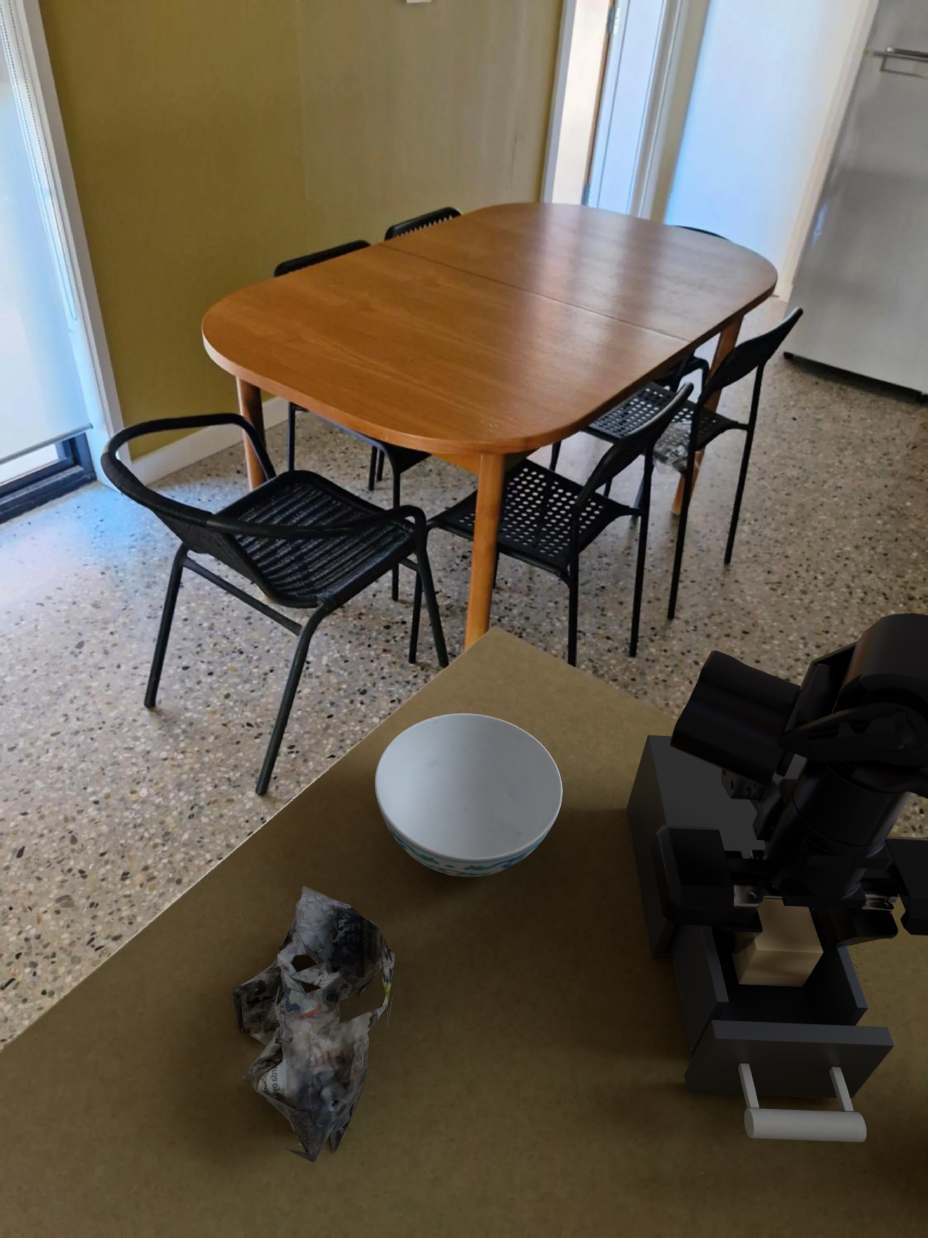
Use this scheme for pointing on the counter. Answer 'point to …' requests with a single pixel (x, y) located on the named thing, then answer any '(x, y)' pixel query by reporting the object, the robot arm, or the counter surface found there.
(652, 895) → the drawer cabinet
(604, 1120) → the counter surface
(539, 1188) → the counter surface
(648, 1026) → the counter surface
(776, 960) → the block
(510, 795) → the chinaware
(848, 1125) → the pulled-out drawer
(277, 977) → the foil
